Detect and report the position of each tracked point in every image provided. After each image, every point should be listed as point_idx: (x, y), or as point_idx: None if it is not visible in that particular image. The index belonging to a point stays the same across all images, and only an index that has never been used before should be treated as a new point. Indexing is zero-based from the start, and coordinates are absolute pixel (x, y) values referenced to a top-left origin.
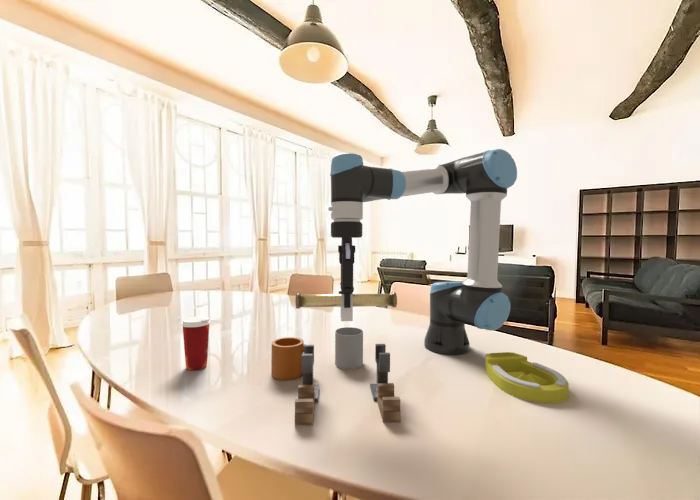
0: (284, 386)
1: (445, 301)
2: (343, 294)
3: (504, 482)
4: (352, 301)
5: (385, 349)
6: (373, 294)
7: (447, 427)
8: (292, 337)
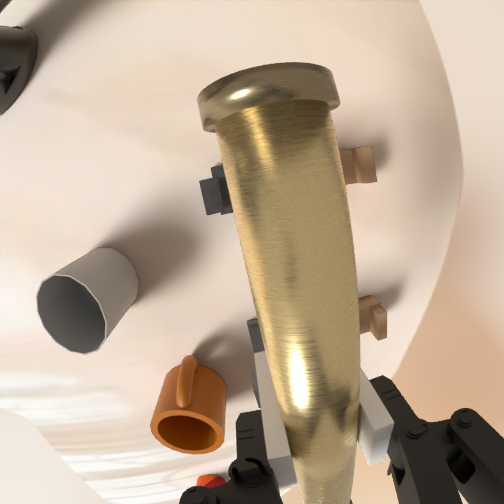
0: (249, 377)
1: None
2: (386, 449)
3: (430, 55)
4: (375, 391)
5: (217, 177)
6: (332, 299)
7: (348, 74)
8: (152, 431)
